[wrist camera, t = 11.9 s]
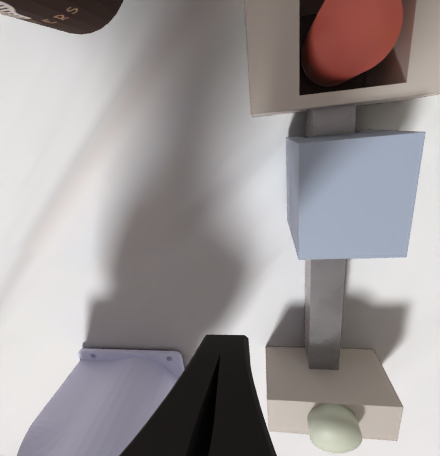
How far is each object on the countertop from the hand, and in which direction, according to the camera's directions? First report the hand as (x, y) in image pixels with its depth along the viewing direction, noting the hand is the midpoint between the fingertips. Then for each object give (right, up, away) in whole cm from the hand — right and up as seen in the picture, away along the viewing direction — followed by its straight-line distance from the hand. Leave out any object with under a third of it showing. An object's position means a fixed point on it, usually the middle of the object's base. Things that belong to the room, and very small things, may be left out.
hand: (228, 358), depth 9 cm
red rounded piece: (+5, +13, +4) cm, 14 cm away
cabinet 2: (+7, -6, +13) cm, 16 cm away
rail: (+6, +3, +9) cm, 12 cm away
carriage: (+6, +7, +8) cm, 12 cm away
